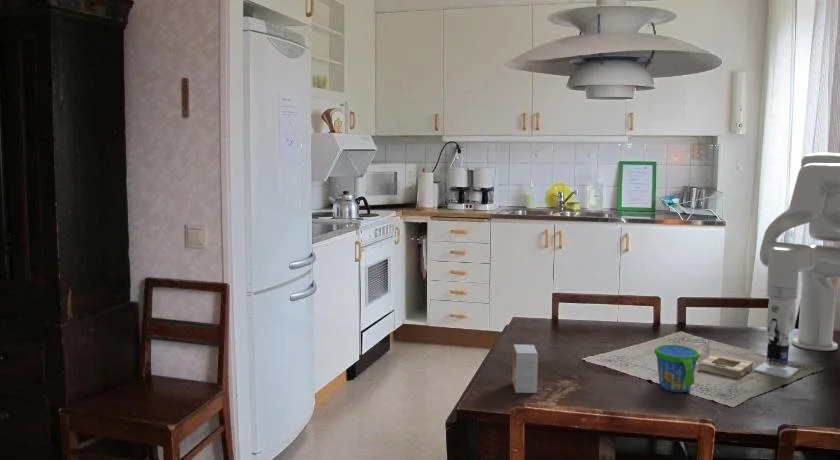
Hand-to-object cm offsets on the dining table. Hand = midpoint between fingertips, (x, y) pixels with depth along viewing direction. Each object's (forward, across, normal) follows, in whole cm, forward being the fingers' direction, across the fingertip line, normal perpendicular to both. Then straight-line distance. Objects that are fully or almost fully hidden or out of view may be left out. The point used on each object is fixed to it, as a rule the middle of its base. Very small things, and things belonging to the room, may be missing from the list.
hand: (777, 355), depth 204 cm
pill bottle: (+3, 0, 0) cm, 3 cm away
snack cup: (+5, -33, +15) cm, 37 cm away
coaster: (+4, 0, 0) cm, 4 cm away
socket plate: (+4, -8, +11) cm, 14 cm away
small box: (+4, -59, +44) cm, 74 cm away
